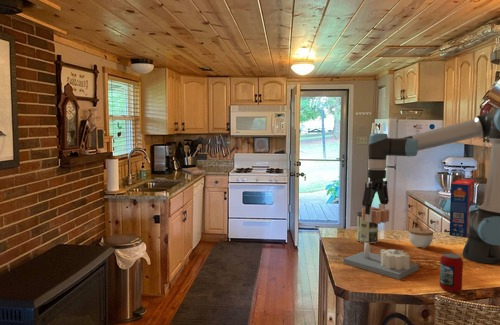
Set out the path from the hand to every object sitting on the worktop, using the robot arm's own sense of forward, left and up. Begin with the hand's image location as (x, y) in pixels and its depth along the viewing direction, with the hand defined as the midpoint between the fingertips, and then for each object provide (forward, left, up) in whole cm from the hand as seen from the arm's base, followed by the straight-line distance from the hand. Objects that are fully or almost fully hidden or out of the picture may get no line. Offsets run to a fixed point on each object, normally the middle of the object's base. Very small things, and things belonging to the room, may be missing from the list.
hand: (375, 220), depth 165 cm
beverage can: (-36, +13, -16) cm, 42 cm away
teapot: (+16, -134, -16) cm, 136 cm away
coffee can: (+16, -20, -16) cm, 30 cm away
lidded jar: (-6, -31, -16) cm, 36 cm away
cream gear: (-14, +10, -14) cm, 23 cm away
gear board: (-8, +10, -16) cm, 21 cm away
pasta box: (-8, -78, -16) cm, 80 cm away
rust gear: (0, 0, 0) cm, 0 cm away
